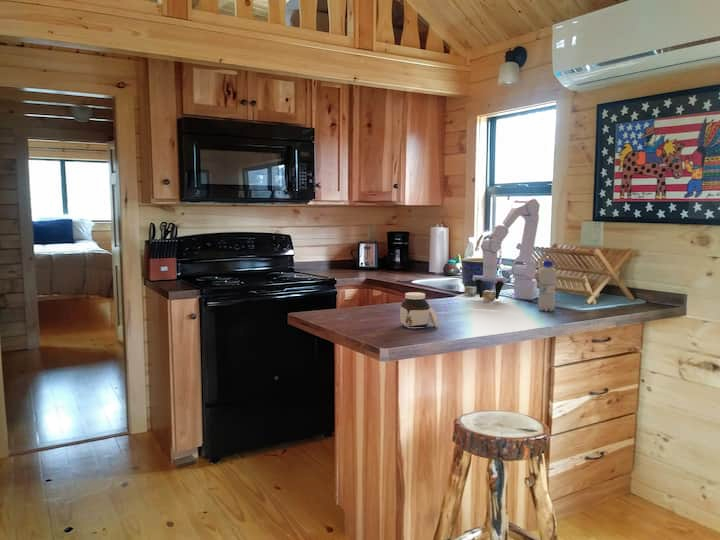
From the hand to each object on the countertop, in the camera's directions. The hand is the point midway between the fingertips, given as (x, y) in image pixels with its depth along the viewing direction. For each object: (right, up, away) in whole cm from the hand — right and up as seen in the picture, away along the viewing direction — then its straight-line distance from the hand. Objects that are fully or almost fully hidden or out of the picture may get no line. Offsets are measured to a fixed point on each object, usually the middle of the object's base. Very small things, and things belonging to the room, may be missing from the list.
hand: (489, 298), depth 249 cm
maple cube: (0, -1, 0) cm, 1 cm away
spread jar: (-35, -8, -50) cm, 61 cm away
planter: (+1, +2, +27) cm, 27 cm away
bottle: (+18, -4, -20) cm, 27 cm away
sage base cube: (-6, 0, +12) cm, 13 cm away
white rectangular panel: (-3, -1, +7) cm, 7 cm away
